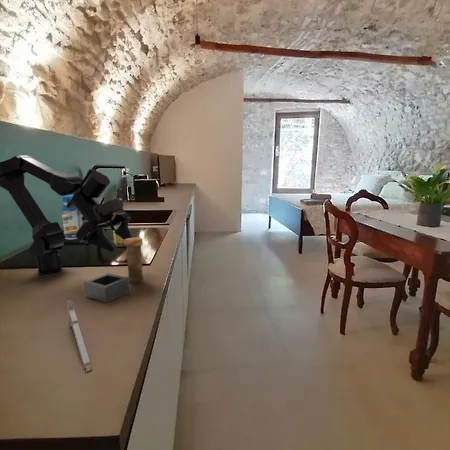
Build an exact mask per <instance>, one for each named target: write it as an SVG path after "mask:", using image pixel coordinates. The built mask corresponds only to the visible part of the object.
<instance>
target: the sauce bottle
mask: <svg viewBox="0 0 450 450" xmlns="http://www.w3.org/2000/svg"><path fill="white" fill-rule="evenodd" d="M119 199H120V200H121V201H122V202H123V203H124V201H123V198H119ZM120 213H126V211H125V210H124V206H123V207H122V210H118V211H117V212H115V213H113V214H114V216H113V217H112V218H111V220H113V219H114V217H115V216H116V215H117V214H120ZM114 232H115V231H114V230H112V235H113V242H114V246H115V247H118V248H122V247H125V246H124V239H122V238H121V237H120V236H118V235H117V234H115V233H114Z"/></svg>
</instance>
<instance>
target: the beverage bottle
mask: <svg viewBox="0 0 450 450" xmlns="http://www.w3.org/2000/svg"><path fill="white" fill-rule="evenodd" d="M72 197H73V195H67V196H61V198H62V201H61V202H62V203H63V206H62V208H61V212H62V215H61V218H62V224H63V231H64V232H63V233H64V235H65V240H78V239H77V238H76V232H77V231H78V230H79V228H80V227H81V226H82V219H81V218H82V214H81V213H80V212H79V211H78V210H77V209H76V208H75V207H73V208H67V203H68V201H67V200H68V199H71V198H72Z"/></svg>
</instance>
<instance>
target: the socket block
mask: <svg viewBox="0 0 450 450" xmlns="http://www.w3.org/2000/svg"><path fill="white" fill-rule="evenodd" d="M83 285H84V286H83V287H84V295H85V297H86V298H89V299H94V300H97V301H98V302H102V303H108V302H111V301H113V300H115V299H117V298H119V297H121V296H123V295H125V294H128V293H130V283H129V277H126V276H122V275H118V274H113V273H108V272H107V273H106V274H103V275H100V276H96V277H94V278H92V279H89V280H86V281H85V282H84V283H83Z"/></svg>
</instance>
